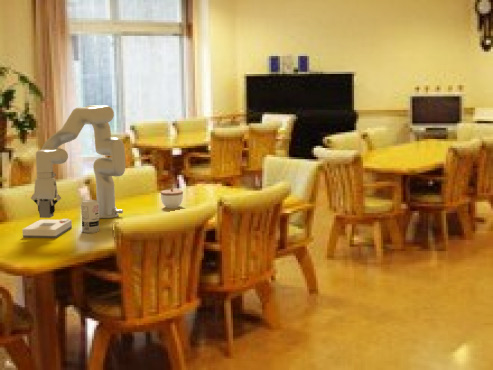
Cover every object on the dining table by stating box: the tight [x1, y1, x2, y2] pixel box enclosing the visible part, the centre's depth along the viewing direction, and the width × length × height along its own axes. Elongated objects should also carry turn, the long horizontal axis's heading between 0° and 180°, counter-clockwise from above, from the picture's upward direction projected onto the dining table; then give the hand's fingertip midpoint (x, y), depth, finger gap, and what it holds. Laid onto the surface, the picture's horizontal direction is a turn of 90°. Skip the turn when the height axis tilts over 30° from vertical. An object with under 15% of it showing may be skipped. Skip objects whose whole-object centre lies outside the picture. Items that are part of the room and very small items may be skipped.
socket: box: [21, 218, 73, 239], centre depth 349 cm, size 16×22×5 cm
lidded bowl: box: [160, 187, 184, 209], centre depth 411 cm, size 13×13×11 cm
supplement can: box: [80, 199, 100, 234], centre depth 350 cm, size 8×8×15 cm
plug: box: [38, 199, 55, 219], centre depth 347 cm, size 5×5×10 cm
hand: (46, 212), depth 348 cm, fingers closed on plug, 5 cm apart
